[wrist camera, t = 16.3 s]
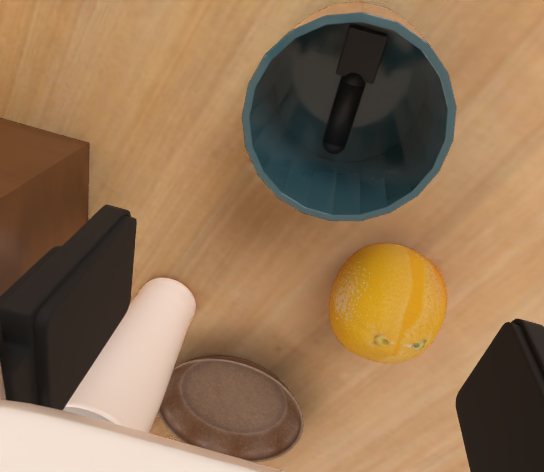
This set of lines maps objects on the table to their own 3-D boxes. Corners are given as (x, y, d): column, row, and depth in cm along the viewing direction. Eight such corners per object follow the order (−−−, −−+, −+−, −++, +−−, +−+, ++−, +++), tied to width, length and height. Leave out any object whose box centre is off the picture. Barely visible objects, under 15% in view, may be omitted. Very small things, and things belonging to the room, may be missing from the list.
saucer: (276, 459, 51) (272, 482, 49) (152, 411, 51) (142, 432, 49) (329, 374, 44) (327, 396, 41) (183, 317, 43) (173, 337, 41)
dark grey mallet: (349, 24, 28) (349, 26, 27) (387, 34, 28) (389, 37, 27) (315, 144, 32) (313, 152, 31) (348, 153, 32) (347, 161, 31)
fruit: (423, 321, 39) (437, 396, 32) (327, 308, 40) (320, 378, 33) (447, 230, 35) (469, 294, 28) (339, 218, 36) (334, 277, 29)
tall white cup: (122, 299, 43) (22, 437, 31) (155, 253, 40) (59, 386, 27) (182, 338, 45) (110, 486, 32) (219, 297, 41) (155, 443, 28)
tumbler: (292, -18, 28) (267, -14, 21) (458, 27, 28) (495, 47, 20) (257, 141, 34) (226, 191, 26) (396, 180, 33) (407, 243, 26)
